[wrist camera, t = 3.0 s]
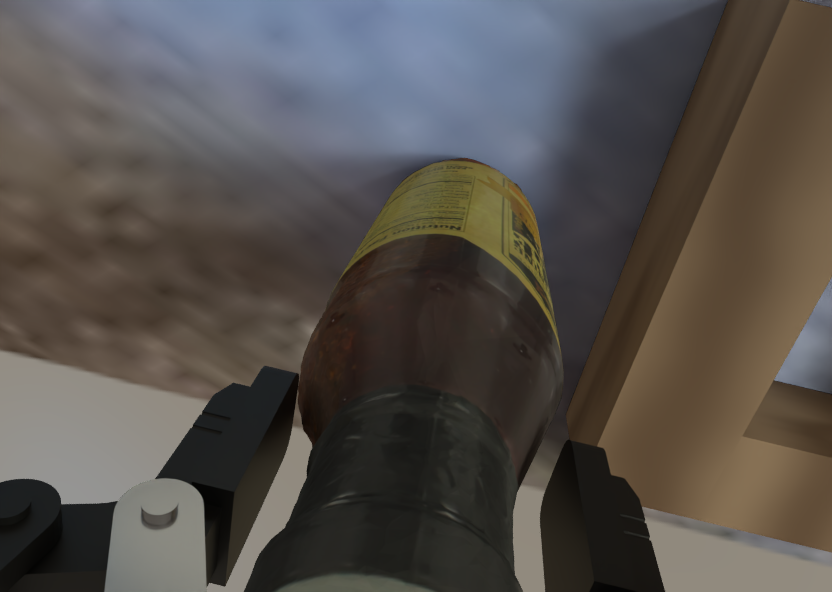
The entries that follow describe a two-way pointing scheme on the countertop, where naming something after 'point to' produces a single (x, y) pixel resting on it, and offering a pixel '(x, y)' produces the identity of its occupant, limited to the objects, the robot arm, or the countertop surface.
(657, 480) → the square wooden frame
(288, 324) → the countertop surface
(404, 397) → the sauce bottle
